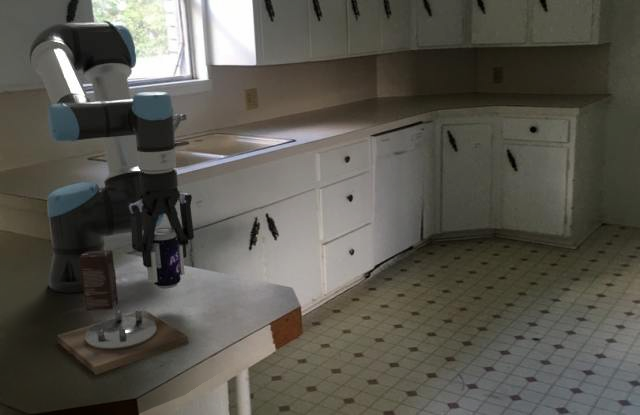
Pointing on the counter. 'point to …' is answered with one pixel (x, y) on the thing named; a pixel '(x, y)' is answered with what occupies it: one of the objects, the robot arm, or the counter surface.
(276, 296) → the counter surface
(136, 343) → the flange
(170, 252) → the beverage can
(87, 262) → the box
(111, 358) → the base plate
